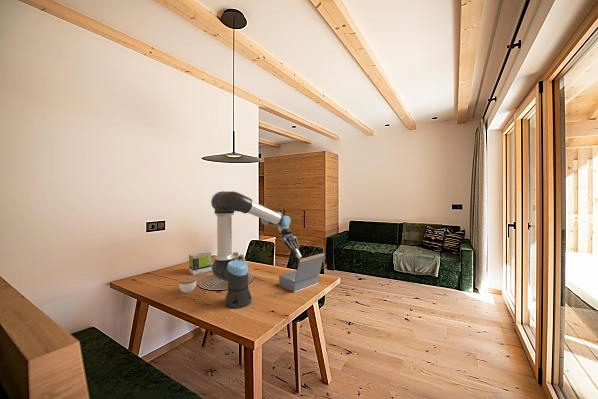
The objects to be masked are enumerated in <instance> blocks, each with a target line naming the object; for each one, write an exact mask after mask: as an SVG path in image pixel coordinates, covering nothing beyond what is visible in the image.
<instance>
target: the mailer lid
mask: <svg viewBox="0 0 598 399" xmlns="http://www.w3.org/2000/svg"><path fill="white" fill-rule="evenodd" d="M324 258H325V253H324V252H322V253H318V254H315V255H311V256H307V257H303V258H300V259H298V264H297V273H296V277H295V282H298V281H301V280H304V279H307V278H309V277H312V276H315V275H318V274H319V275H320V274H321V269H322V265H323V261H324Z"/></svg>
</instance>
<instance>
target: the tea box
mask: <svg viewBox="0 0 598 399" xmlns="http://www.w3.org/2000/svg"><path fill="white" fill-rule="evenodd" d="M212 258H213V257H212V253H211V252H209V251H207V250H206V251H201V252H195V253H190V254H188V264H189V266H188V267H189V273H190V274H191V275H193V276H195V275H199V274H204V273H208V272H212V270H211V267H212V264H213V261H212V260H213V259H212Z"/></svg>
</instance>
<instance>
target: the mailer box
mask: <svg viewBox="0 0 598 399" xmlns="http://www.w3.org/2000/svg"><path fill="white" fill-rule="evenodd" d="M296 273H297V270H293V271H290V272H285V273H283V274H280V275H279V277H278V281H279V283H278V284H279V285H278V286H280V287H282V288H284V289H286V290H289V291H290V292H293V293H297V292H301V291H302V290H306V289H308V288H310V287H311V288H312V287H313V286H315V285H318V284H319V280H320V279H319V275H320V274H318V275H315V276H312V277H309V278H307V279H304V280H301V281H298V282H295V277H296Z"/></svg>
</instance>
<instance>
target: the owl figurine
mask: <svg viewBox="0 0 598 399" xmlns="http://www.w3.org/2000/svg"><path fill="white" fill-rule="evenodd" d="M232 255H233V256H234V260H239V261H240V260H241V261H244V262H246V258H245V254H242V253H240V254H239V252H238V251H234V252H232Z"/></svg>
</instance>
